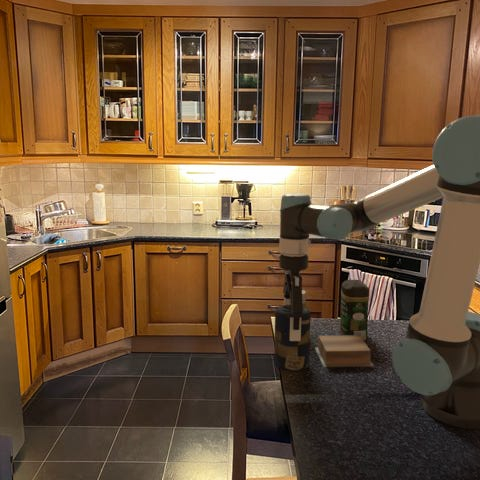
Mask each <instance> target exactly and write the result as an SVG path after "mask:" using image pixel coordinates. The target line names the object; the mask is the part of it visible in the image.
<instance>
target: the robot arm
mask: <svg viewBox="0 0 480 480" xmlns="http://www.w3.org/2000/svg"><path fill="white" fill-rule="evenodd" d="M431 155H432V157H431V158H432V164H431V165H429V166H427V167H424V168H423V169H421V170H419V171H417V172H415V173H413V174H411V175H408V176H406V177H404V178H402V179H400V180H398V181H396V182H394V183H391V184H389V185H388V186H385V187H383V188H381V189H379V190H377V191H375V192H372V193H370V194H368V195H367V196H364V197H362V198H359V199H358V200H356V201H353V202H346V203H340V204H339V203H337V204H330V205H329V204H328V205H326V204H325V205H324V204H314V203H312V202H311V195H309V194H307V193H298V192H297V193H294V192H293V193H285V194H283V195H282V196H281V201H280V210H279V215H280V225H279V229H280V230H279V248H278V250H279V252H280V254H279V256H278V257H279V258H278V259H279V260H278V266H279V268H281V269H282V270H283V271H285V272H284V280H283V290H282V293H283V297H284V298H283V305H291V314H289V317H290V341H301V317H303V304H302V290H303V277H302V275H301V273H300V271H305V270H307V269H308V268H309V255H308V253H309V247H310V246H309V245H311V244H312V241H311V240H310V235H312V236H317V237H323V238H326V239H329V240H332V239H333V240H342V239H343V240H344V239H345V238H346V237H347V236H348V235H349V234H351V233H357V232H365V231H368V230H373V229H374V228H376V227H377V226H378V225H379V224H381V223H384V222H386V221H388V220H391V219H394V218H396V217H399V216H401V215H404V214H406V213H408V212H411V211H413V210H416V209H418V208H420V207H423V206H426V205H427V204H430V203H432V202H436V201H438V200H440V199H442V202H441V207H440V212H439V217H438V222H437V226H436V232H435V235H434V236H435V237H434V242H433V245H432V250H431V254H430V260H429V264H428V269H427V275H426V279H425V283H424V289H423V293H422V298H421V302H420V306H419V307H420V308H419V311H418V312H417V313H415V314H413V315H412V316H410V318H409V321H408V325H407V332H406V334H405V338H403V339H402V340H400V341H399V342H397V344H396V345H395V346H394V348H393V350H392V353H391V354H392V355H391V357H392V358H391V360H392V365H393V366H392V367H393V368H394V370H395V373H396V374H397V375H398V376H399V379H400V381H401V382H402V383H403V384H404V385H405V386H406V387H408V388H409V389H410V390H412V391H413V392H415V393H417V394H420V395H423V402H422V406H423V409H424V411H425V412H426V413H427V414H428V415H429V416H431V417H432V418H433V419H435V420H437V421H439V422H441V423H442V424H446V425H448V426H452V427H454V428H455V427H456V428H460V429H465V430H480V313H477V312H471V311H469V310H470V309H469V308H470V305H471V301H472V296H473V293H474V289H475V285H476V280H477V276H478V274H479V273H478V272H479V268H480V114H473V115H467V116H462V117H459V118H456V119H455V120H453V121H451V122H450V123H449V124H448V125H446V126H445V127H444V128H443V129H442V130H441V131H440V133H439V134H438V135H437V138H436V139H435V141H434V144H433V147H432V154H431ZM295 312H299V313H295Z"/></svg>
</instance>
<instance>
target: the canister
mask: <svg viewBox="0 0 480 480" xmlns="http://www.w3.org/2000/svg"><path fill="white" fill-rule="evenodd" d="M274 312H275V313H274V348H273V350H274V358H273V359H274V365H275V367H277V368H278V369H280V370H283V371H286V372H299V371H300V372H301V371H304V370H306V369H308V368H309V366H310V350H311V318H312V317H311V315H312V314H311V310H310V308H308V307H307V308H306V307H304V306H303V317H301V341H290V317H289V314H291V305H284V304H283V305H279V306H278V307H276V309H275V311H274ZM295 313H299V312H295Z"/></svg>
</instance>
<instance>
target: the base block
mask: <svg viewBox="0 0 480 480" xmlns="http://www.w3.org/2000/svg"><path fill="white" fill-rule="evenodd" d="M317 342H318V344H317V347H318V349H319V352H320V354H321V356H322V358H323V360H324V362H325V365H370V361H371V354H372V353H371V352H372V351H371V349H370V348H369V346H368V344H366V342H365V340H363V339H362V338H361V336H360V335H341V334H340V335H338V334H337V335H318V341H317Z"/></svg>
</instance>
